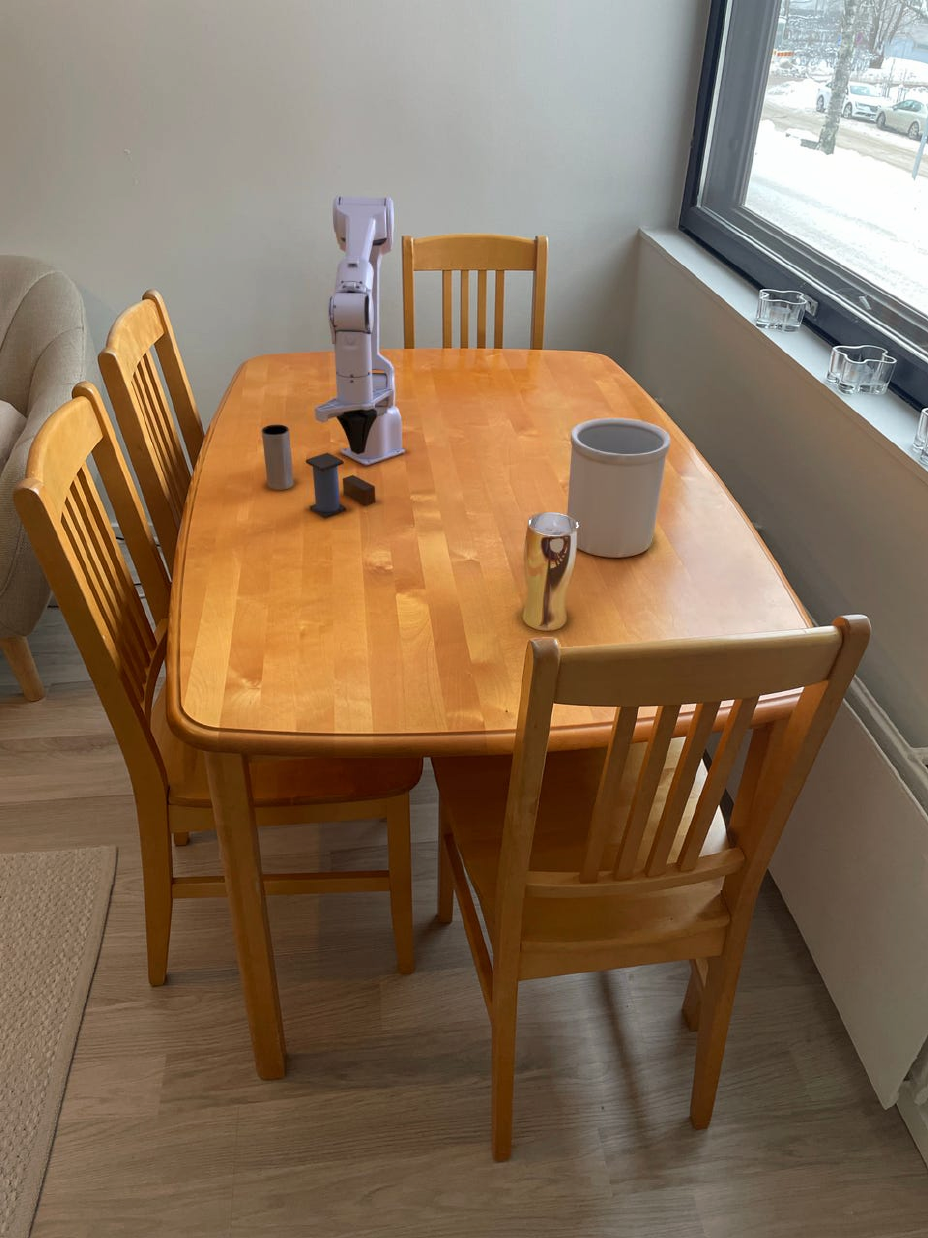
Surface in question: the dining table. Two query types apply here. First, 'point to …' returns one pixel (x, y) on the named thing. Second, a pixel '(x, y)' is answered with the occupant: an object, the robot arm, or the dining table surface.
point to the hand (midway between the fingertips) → (357, 451)
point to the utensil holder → (616, 484)
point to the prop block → (359, 490)
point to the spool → (326, 485)
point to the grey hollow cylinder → (277, 457)
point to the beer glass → (549, 568)
